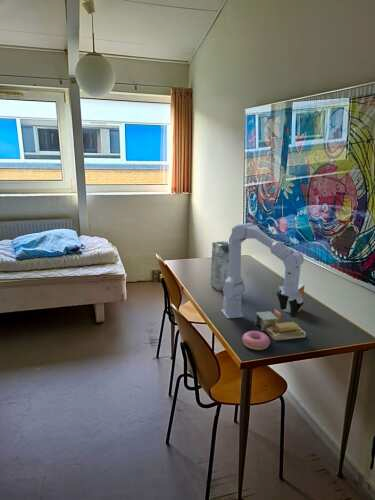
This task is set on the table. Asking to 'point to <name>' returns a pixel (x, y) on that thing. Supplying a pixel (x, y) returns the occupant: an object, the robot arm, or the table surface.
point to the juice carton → (219, 264)
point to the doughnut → (256, 340)
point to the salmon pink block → (276, 316)
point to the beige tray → (285, 334)
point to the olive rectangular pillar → (286, 327)
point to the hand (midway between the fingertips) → (288, 312)
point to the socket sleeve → (266, 320)
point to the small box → (300, 291)
